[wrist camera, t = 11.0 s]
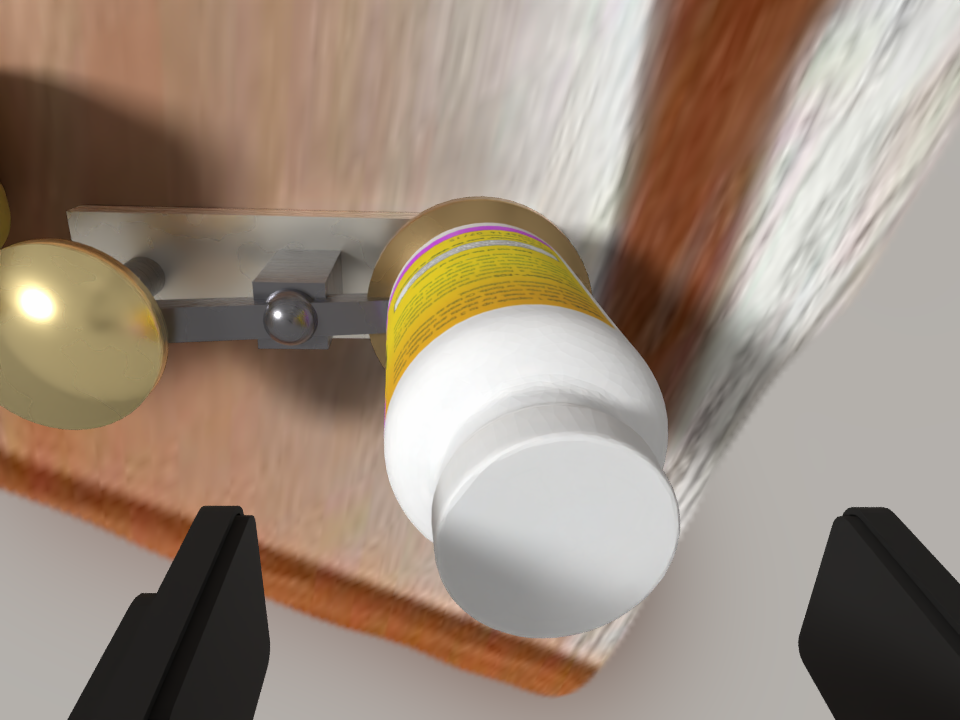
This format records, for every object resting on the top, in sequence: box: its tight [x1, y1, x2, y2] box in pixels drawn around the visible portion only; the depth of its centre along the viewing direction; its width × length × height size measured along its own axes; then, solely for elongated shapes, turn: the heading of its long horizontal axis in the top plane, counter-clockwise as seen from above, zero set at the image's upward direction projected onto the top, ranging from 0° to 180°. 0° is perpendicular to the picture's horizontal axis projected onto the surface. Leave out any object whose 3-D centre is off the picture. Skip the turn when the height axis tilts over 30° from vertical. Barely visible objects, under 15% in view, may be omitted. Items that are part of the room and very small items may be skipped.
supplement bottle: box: [384, 223, 680, 638], centre depth 19 cm, size 7×7×13 cm
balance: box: [0, 196, 592, 430], centre depth 26 cm, size 20×8×8 cm, turn 88°
